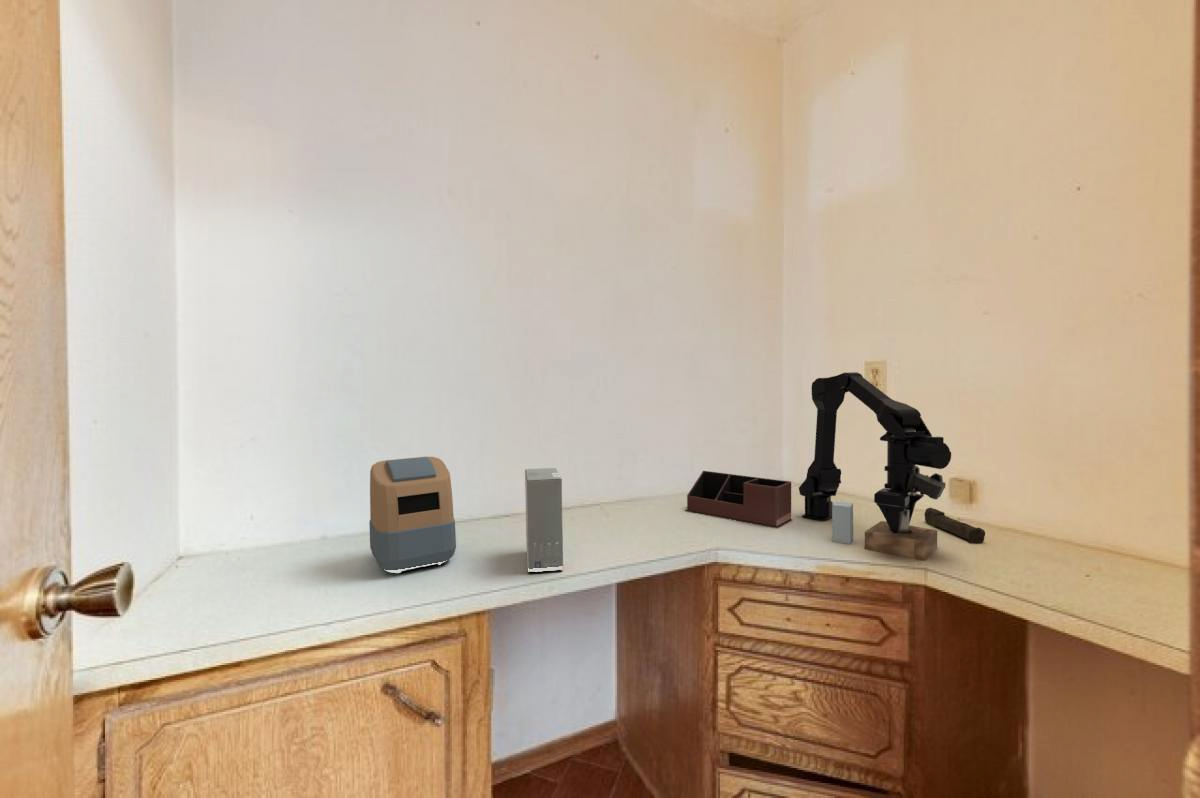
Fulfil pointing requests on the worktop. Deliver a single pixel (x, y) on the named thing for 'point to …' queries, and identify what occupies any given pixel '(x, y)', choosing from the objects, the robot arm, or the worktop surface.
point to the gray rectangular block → (842, 522)
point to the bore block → (901, 541)
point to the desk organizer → (741, 499)
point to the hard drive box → (543, 518)
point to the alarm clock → (411, 513)
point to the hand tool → (954, 526)
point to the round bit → (904, 522)
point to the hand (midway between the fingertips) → (900, 528)
